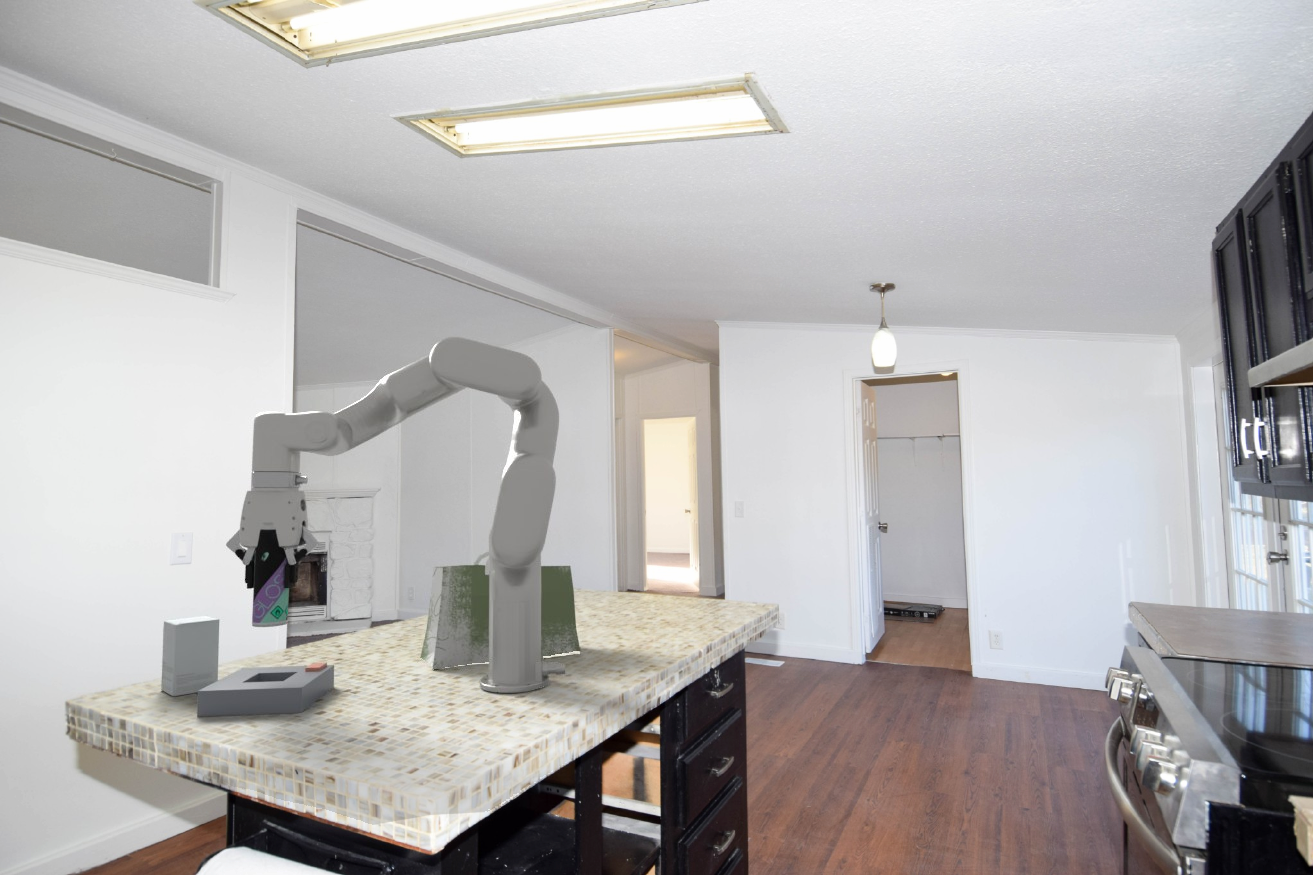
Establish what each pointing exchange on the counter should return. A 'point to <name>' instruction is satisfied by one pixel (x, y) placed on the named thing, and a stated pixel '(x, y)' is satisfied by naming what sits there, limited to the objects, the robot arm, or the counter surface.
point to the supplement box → (189, 654)
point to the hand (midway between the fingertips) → (271, 586)
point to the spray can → (269, 581)
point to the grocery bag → (465, 614)
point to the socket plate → (266, 690)
